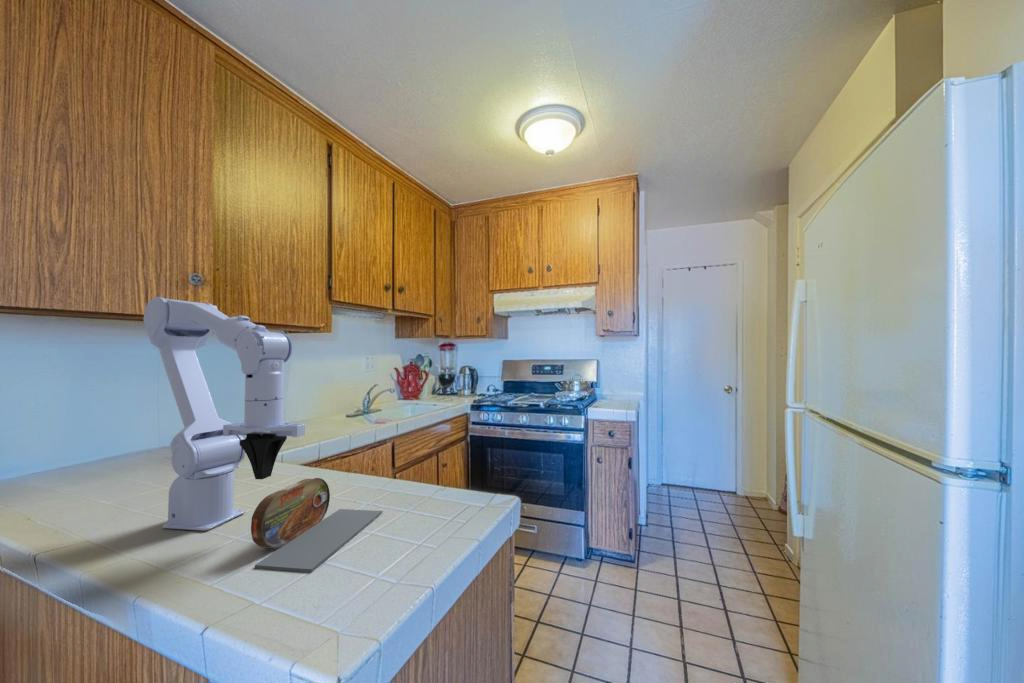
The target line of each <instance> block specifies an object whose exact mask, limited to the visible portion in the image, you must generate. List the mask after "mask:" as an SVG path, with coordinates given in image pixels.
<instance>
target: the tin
mask: <svg viewBox="0 0 1024 683" xmlns="http://www.w3.org/2000/svg"><path fill="white" fill-rule="evenodd" d="M330 492H331V491H330V488H329V485H328V483H327V482H326V481H325V480H324V479H323V478H321V477H315V478H305V479H302V480H300V481H297V482H295V483H293V484H290V485H288V486H286V487H284V488H281V489H279V490H277V491H275V492H273V493H270V494H268V495H267V496H265V497H264V498H262V500H261V501H260V502H259V504H258V505H257V506H256V508H255V510H254V511H253V513H252V516H251V520H250V521H251V524H250V525H251V526H250V533H251V539H252V541H253V543H254V544H255V545H257V546H258V547H261V548H268V549H269V548H271V549H280V548H281V547H283V546H284V545H286V544H287V543H289V542H290V541H292V540H293V539H295V538H297V537H298V536H300V535H301V534H303V533H304V532H306V531H307V530H309V529H310V528H312V527H313V526H315V525H316V524H318V523H319V522H321V521H322V520H324V519H325V518H324V517H325V516H326V515H327V512H328V510H329V506H330V500H331V499H330V498H331V497H330V496H331V493H330Z"/></svg>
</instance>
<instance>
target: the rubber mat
mask: <svg viewBox="0 0 1024 683" xmlns="http://www.w3.org/2000/svg"><path fill="white" fill-rule="evenodd" d="M381 513H382V514H383V510H370V509H369V510H368V509H366V510H365V509H347V508H346V509H344V508H339V509H338V510H336V511H334V512H333V513H331V514H330V515H328V516H327V517H325V518H323V519H322V520H321V522H319V523H318V524H316V525H315V526H313V527H312V528H310V529H309V530H307V531H306V532H304V533H303V534H301V535H300V536H298V537H297V538H295V539H293V540H292V541H290V542H289V543H287V544H286V545H284V546H283V547H281V548H277V549H276V550H274V551H273V552H272V553H271V554H269V555H268V556H266V557H264V558H263V559H262V560H260V561H259V562H257V563H255V564H254V569H262V570H263V569H264V570H277V571H279V570H280V571H290V572H302V573H303V572H304V573H312V572H314V571H315V570H316V569H317V568H319V567H320V566H321V565H322V564H323V563H324V562H326V561H327V560H328V559H329V558H330V557H332V556H333V555H334V554H335V553H336V552H338V551H339V550H340V549H341V548H342V547H344V546H345V545H346V544H347V543H349V542H350V541H351V540H352V539H353V538H355V537H356V536H357V535H358V534H359V533H361V532H362V531H363V530H364V529H365V528H366V527H368V526H369V525H370V524H372V523H373V520H374V519H375V518H376V519H377V518H379V517H380V516H381V515H382V514H381ZM380 514H381V515H380ZM379 515H380V516H379ZM376 519H375V520H376ZM375 520H374V521H375Z"/></svg>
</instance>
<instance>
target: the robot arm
mask: <svg viewBox="0 0 1024 683" xmlns="http://www.w3.org/2000/svg"><path fill="white" fill-rule="evenodd" d="M143 324H144V327H145V329H146V331H147V332H146V333H147V336H148V337H149V341H150V344H152V345H153V346H155V347H157V348H158V349H159V350H158V351H159V354H160V358H161V360H162V363H163V367H164V369H165V372H166V375H167V378H168V381H169V385H170V387H171V391H172V394H173V396H174V400H175V402H176V407H177V409H178V412H179V415H180V419H181V421H182V424H183V426H184V428H182V429H181V430H180V431H179V432H177V434H176V435H175V436H173V438H172V440H171V442H170V449H171V460H170V461H171V465H172V469H173V471H174V472H175V473H176V474H177V475H178V476H177V477H176V478H175V479H174V480H173V482H172V483H171V485H170V487H169V490H168V505H167V506H168V507H167V523H165V524H162V528H163V529H173V530H190V531H191V530H192V531H210V530H211V529H214V528H216V527H218V526H219V525H222V524H224V523H226V522H229V521H231V520H233V519H235V518H236V517H238V516H241V515H243V514H245V513H246V510H245V509H234V500H235V499H234V497H235V493H234V492H235V491H234V489H235V469H238V468H239V464H240V463H241V462H242V461H244V459H245V456H247V458H248V460H249V463H250V466H251V469H252V473H253V476H254V479H255V480H264V479H267V478H269V477H271V476H272V473H273V468H274V466H275V463H276V460H277V456H278V455H279V453H280V450H281V449H282V447H283V445H284V444H285V442H286V440H287V438H288V437H292V438H298V437H299V438H300V437H303V436H305V435H306V423H296V422H295V423H293V422H286V421H284V394H285V393H284V392H285V391H284V390H285V388H284V385H285V363H286V362H288V361H289V359H290V357H291V356H292V353H293V343H292V340H291V338H290V336H289V335H287V334H286V333H285V332H283V331H276V332H275V331H274V332H272V331H269V330H267V329H266V328H267V327H266V326H264V325H262V324H256V323H254V322H252V321H251V317H249V316H246V315H237V316H230V317H229V316H228V315H226V314H225V313H223V312H221V311H220V310H219V309H218V306H217V305H214V304H212V303H209V302H197V301H196V302H195V301H187V300H178V299H172V298H164V297H161V296H156V297H153V298H151V299H150V300H148V303H147V304H146V306H145V308H144V314H143ZM212 332H213V333H215V334H216V338H217V340H218V341H219V342H220V343H221V344H222V345H224V346H226V347H227V348H230V349H232V350H233V351H235V352H236V354H237V356H238V359H239V361H240V364H241V365H240V366H241V371H242V374H243V375H244V413H243V414H244V422H230V421H227V420H224V419H223V418H220V417H219V416H218V412H217V410H216V407H215V403H214V401H213V398H212V395H211V393H210V390H209V386H208V383H207V381H206V379H205V375H204V372H203V369H202V366H201V364H200V361H199V359H198V356H197V353H196V350H197V349H199V348H202V347H204V346H205V345H206V343H207V341H208V340H209V338H210V336H211V334H212ZM243 436H246V437H245V439H244V437H243Z"/></svg>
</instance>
